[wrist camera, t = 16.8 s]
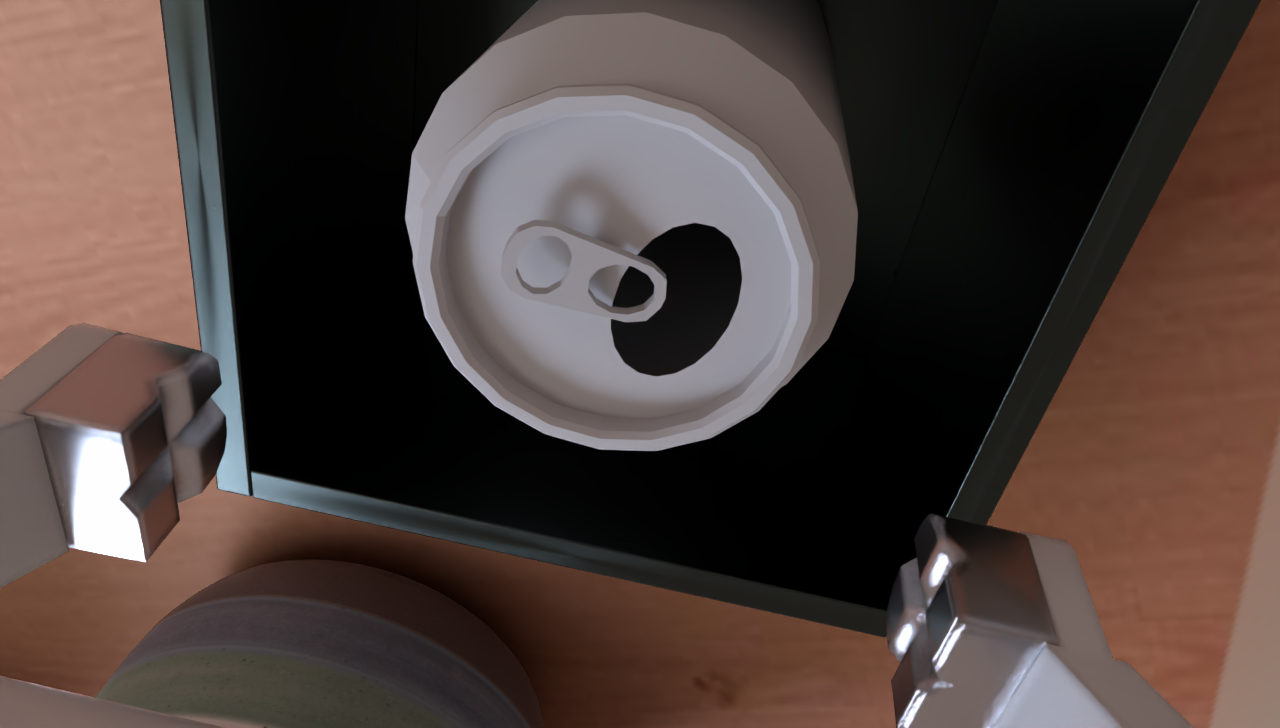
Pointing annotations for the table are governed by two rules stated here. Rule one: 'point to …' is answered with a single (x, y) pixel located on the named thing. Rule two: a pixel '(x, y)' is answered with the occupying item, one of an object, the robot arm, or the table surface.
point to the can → (637, 215)
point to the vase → (325, 655)
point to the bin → (800, 410)
